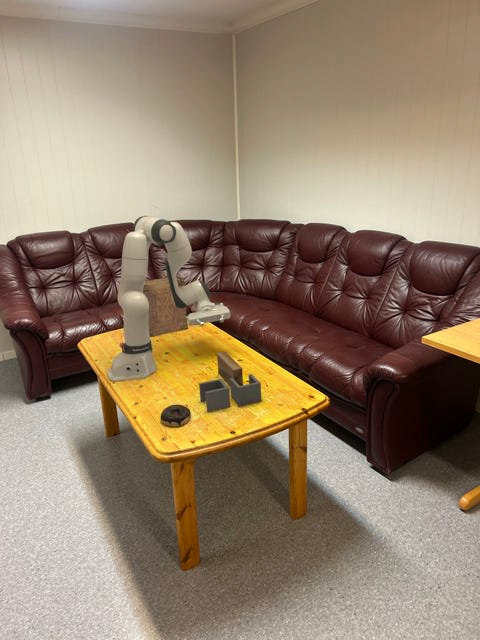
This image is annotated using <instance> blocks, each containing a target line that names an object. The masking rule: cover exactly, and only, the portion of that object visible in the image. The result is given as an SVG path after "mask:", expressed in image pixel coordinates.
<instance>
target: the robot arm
mask: <svg viewBox="0 0 480 640" xmlns="http://www.w3.org/2000/svg"><path fill="white" fill-rule="evenodd" d="M152 244H158V245H164V247H165V249H166V251H167V259H166V260H165V263H164V265H165V267H164V268H165V271H166V276H167V277H166V278H168V281H169V285H170V289H171V298H172V302H173V304H174V305H175V307H177V308H180V309H183V308H185V307H186V308H188V307H189V306H190V305H193V308H194V310H195V312H192V313H191V312H190V313H189V314H187V316H186V319H187V323H188V326H190V327H194V326H200V327H204V326H205V324H208V323H213V322H218V321H219V323H224V322H225V320H228V319H230V318H231V311H230V309H229V308H228V307H227V306H225V305H224V303H223V302H211V297H212V294H211V292H210V290H209V289H210V288H209V287H208V286H207V284H206V282H205V281H203V280H201V279H196V280H195V281H192V282H190V283H188V284H186V285H184V286H183V287H181V288H179V287H178V283H177V278H176V276H177V273H178V272H179V271H180V270H181V268H182V267H183V266H185V265H186V264H187V263H188V262H189V260H190V259H191V257H192V255H193V250H192V246H191V242H190V240H189V238H188V236H187V234H186V232H185V230H184V228H183V227H182V225H181V224H180V223H178V222H177V221H169V220H167V219H163V218H160V217H157V216H151V215H142V216H139V217H137V218H136V219H135V221H134V223H133V226H132V229H131V232H128V233H127V234H126V235H125V237H124V241H123V246H122V251H121V252H122V255H121V270H120V272H121V273H120V279H119V285H118V292H117V302H118V304H119V306H120V307H121V309H122V312H123V333H124V334H123V335H125V343H123V341H122V342H120V343H119V348H121V352H120V353H118V355H117V356H115V357H114V358H113V359H112V361H111V367H110V368H109V369H108V370H107V372H106V373H107V374H106V375H107V378H108V380H110V381H111V382H121V380H123V381H129V379H131V380H139V379H146V378H148V377H149V376H150V375H151V374H153V373H155V372H156V371H157V369H158V367H157V364H156V361H155V358H154V355H153V343H152V340H151V337H150V335H149V326H148V318H149V302H148V299H147V297H146V296H145V295H144V294H143V288H144V284H145V281H147V278H148V268H149V249H150V247H151V245H152Z"/></svg>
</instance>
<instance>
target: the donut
mask: <svg viewBox="0 0 480 640" xmlns="http://www.w3.org/2000/svg"><path fill="white" fill-rule="evenodd" d="M191 413H192V412H191V410H190V408H189V407H187V406H186V405H182V404H171V405H168V406H167V407H165V408H163V410H162V412H161V414H160V422H161V423H162V424H163V425H165V426H168V427H180V426H184V425H185V424H187V423H188V422H189V421H190V419H191V415H192V414H191Z"/></svg>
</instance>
